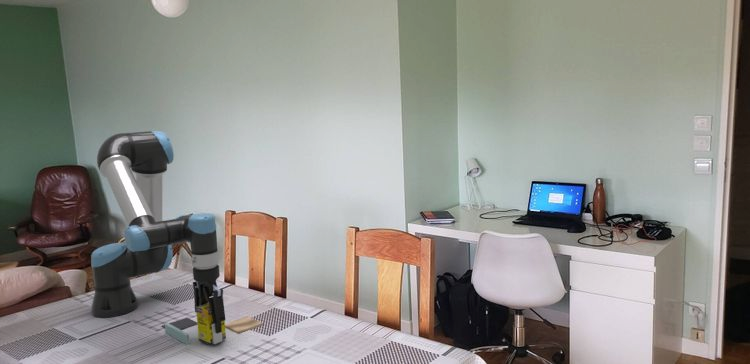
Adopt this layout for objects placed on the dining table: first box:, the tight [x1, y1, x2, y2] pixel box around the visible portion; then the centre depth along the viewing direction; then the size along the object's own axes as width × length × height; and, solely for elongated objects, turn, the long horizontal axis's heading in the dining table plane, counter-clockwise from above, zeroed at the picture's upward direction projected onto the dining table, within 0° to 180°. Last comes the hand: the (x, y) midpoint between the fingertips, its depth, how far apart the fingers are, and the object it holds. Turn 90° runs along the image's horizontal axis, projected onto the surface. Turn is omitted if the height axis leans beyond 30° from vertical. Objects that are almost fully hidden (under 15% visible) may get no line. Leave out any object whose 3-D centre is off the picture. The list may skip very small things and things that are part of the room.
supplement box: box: [195, 303, 227, 346], centre depth 167 cm, size 6×6×11 cm
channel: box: [164, 312, 197, 346], centre depth 176 cm, size 14×12×3 cm
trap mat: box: [160, 317, 198, 331], centre depth 182 cm, size 8×9×1 cm
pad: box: [225, 316, 264, 335], centre depth 179 cm, size 9×9×1 cm
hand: (211, 339), depth 168 cm, fingers closed on supplement box, 6 cm apart
